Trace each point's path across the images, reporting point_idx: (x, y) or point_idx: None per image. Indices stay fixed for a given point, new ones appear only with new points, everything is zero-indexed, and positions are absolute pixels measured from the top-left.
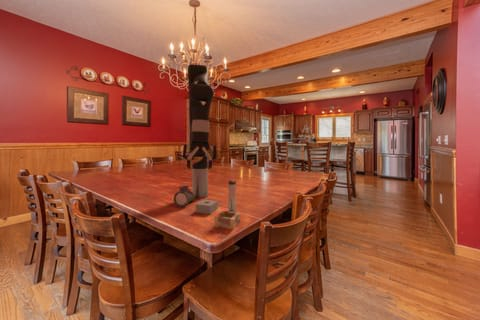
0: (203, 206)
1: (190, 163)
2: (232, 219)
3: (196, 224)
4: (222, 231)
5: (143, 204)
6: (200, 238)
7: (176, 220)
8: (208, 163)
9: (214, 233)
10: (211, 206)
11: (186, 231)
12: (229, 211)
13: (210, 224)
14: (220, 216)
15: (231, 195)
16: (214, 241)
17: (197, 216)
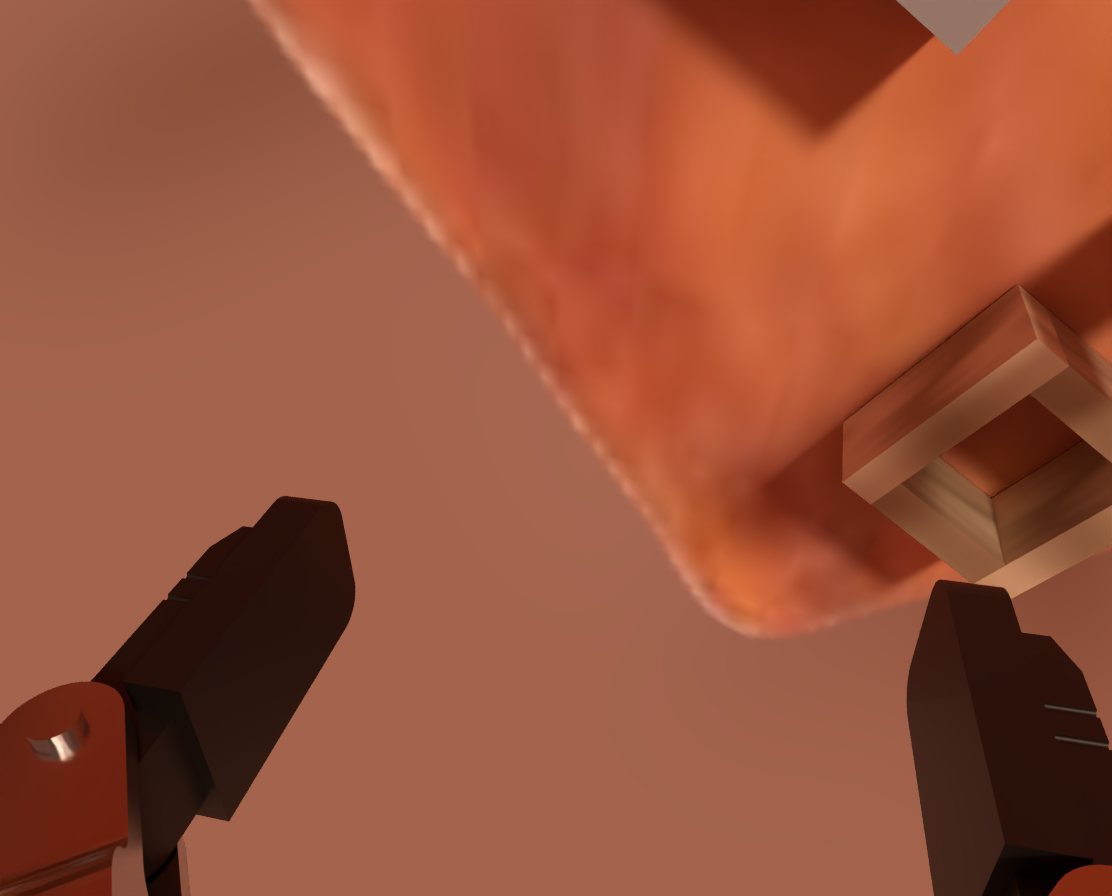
0: None
1: (283, 727)
2: None
3: (679, 305)
4: (871, 525)
5: None
6: (667, 549)
7: (475, 117)
8: (955, 777)
9: (791, 528)
10: (987, 15)
11: (574, 411)
12: (1106, 401)
13: (819, 358)
14: (907, 494)
15: None
16: (752, 618)
17: (734, 59)
